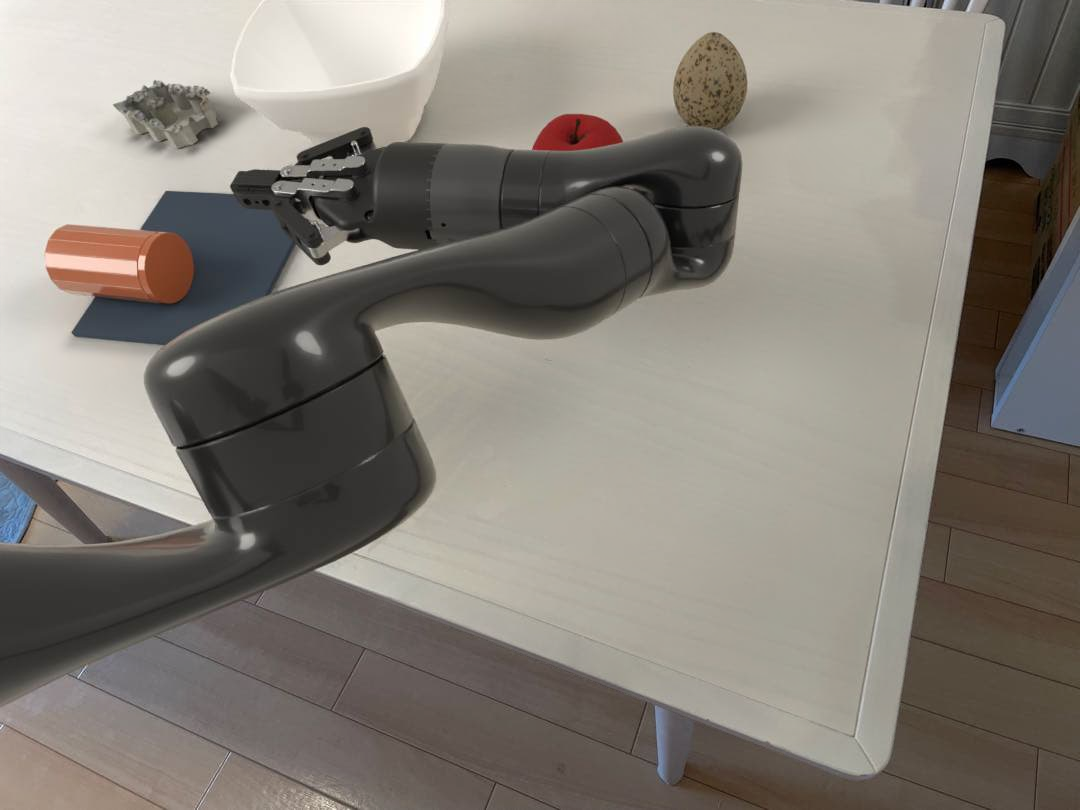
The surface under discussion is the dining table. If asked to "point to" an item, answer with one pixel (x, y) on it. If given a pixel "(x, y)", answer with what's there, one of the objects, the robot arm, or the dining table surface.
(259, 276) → the mat
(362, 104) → the bowl
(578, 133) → the apple
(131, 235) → the cup
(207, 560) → the robot arm
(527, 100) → the dining table surface
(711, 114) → the decorative egg
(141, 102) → the grey jagged stone ring
